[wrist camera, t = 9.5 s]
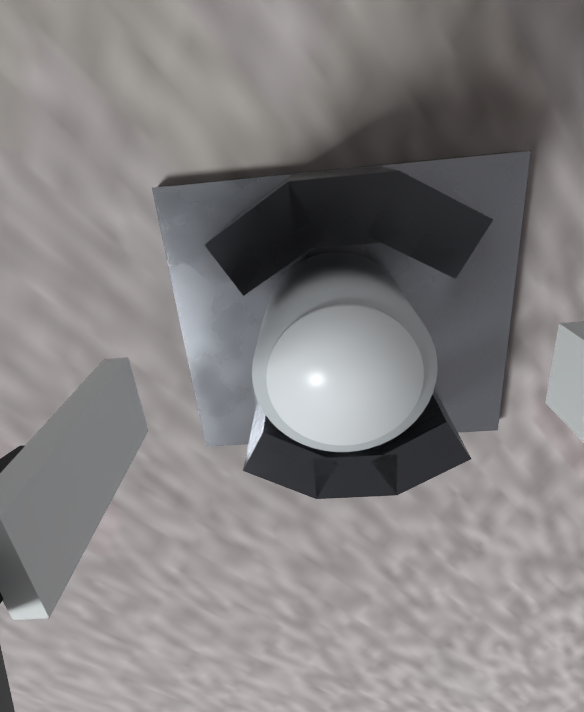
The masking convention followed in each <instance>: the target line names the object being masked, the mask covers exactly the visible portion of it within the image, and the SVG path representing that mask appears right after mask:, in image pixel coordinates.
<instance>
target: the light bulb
mask: <svg viewBox="0 0 584 712" xmlns="http://www.w3.org/2000/svg"><path fill="white" fill-rule="evenodd" d="M437 371H438V369H437V355H436V350H435V346H434V343H433V340H432V338H431V336H430V334H429V332H428V330H427V328H426V327H425V325H424V324H423V322H422V321H421V319H420V318H419V316H418V315H417V313H416V311H415V310H414V308H413V307H412V305H411V304H410V302H409V301H408V299H407V298H406V296H405V295H404V293H403V292H402V290H401V289H400V287H399V286H398V284H397V283H396V282H395V280H394V279H393V277H392V276H391V275H390V274H389V273H388V272H387V271H386V270H385V269H384V268H382V267H381V266H380V265H379V264H377V263H375V262H374V261H372V260H370V259H368V258H365V257H363V256H360V255H356V254H352V253H345V252H330V253H323V254H319V255H316V256H312V257H310V258H308V259H305V260H303V261H301V262H300V263H298V264H296V265H295V266H293V267H292V268H291V269H290V270H288V271H287V272H286V273H285V274H284V275H283V276H282V277H281V279H280V280H279V281H278V283H277V284H276V285H275V287H274V289H273V291H272V293H271V295H270V298H269V300H268V303H267V307H266V311H265V315H264V318H263V322H262V326H261V330H260V334H259V338H258V341H257V345H256V349H255V353H254V358H253V363H252V382H253V387H254V392H255V395H256V397H257V400H258V403H259V405H260V406H261V408H262V410H263V412H264V413H265V415H266V416H267V417H268V419H269V420H270V421H271V422H272V423H273V424H274V425H275V426H276V427H277V428H278V429H279V430H280V431H281V432H283V433H284V434H285V435H287V436H288V437H290V438H291V439H293V440H295V441H297V442H299V443H301V444H303V445H306V446H309V447H312V448H315V449H319V450H324V451H332V452H351V451H360V450H364V449H369V448H372V447H375V446H378V445H381V444H383V443H385V442H387V441H390V440H391V439H393V438H395V437H396V436H398V435H400V434H401V433H402V432H404V431H405V430H406V429H407V428H409V427H410V426H411V425H412V424H413V423H414V422H415V421H416V420H417V419H418V417H419V416H420V415H421V414H422V412H423V411H424V409H425V408H426V406H427V404H428V403H429V401H430V398H431V396H432V394H433V391H434V388H435V384H436V379H437Z"/></svg>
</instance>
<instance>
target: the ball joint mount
mask: <svg viewBox="0 0 584 712" xmlns="http://www.w3.org/2000/svg"><path fill="white" fill-rule="evenodd" d="M530 154H531V151H519V152H509V153H499V154H488V155H478V156H468V157H458V158H447V159H437V160H427V161H417V162H407V163H396V164H386V165H376V166H366V167H355V168H345V169H335V170H325V171H315V172H304V173H294V174H284V175H274V176H263V177H253V178H243V179H233V180H223V181H212V182H202V183H192V184H182V185H171V186H161V187H155V188H152V191H153V196H154V200H155V205H156V210H157V215H158V220H159V224H160V229H161V234H162V239H163V244H164V248H165V253H166V258H167V263H168V267H169V272H170V277H171V282H172V287H173V291H174V296H175V301H176V306H177V311H178V315H179V320H180V325H181V330H182V334H183V339H184V344H185V349H186V354H187V358H188V363H189V368H190V373H191V377H192V382H193V387H194V392H195V397H196V401H197V406H198V411H199V416H200V421H201V425H202V430H203V435H204V440H205V444H206V446H223V445H241V444H248V448H247V453H246V458H245V463H244V468H243V471H245V472H248V473H250V474H253V475H256V476H258V477H261V478H263V479H266V480H269V481H271V482H274V483H276V484H279V485H282V486H284V487H287V488H289V489H292V490H295V491H297V492H300V493H302V494H305V495H308V496H310V497H313V498H315V499H316V498H317V499H325V498H347V497H368V496H390V495H398V494H400V493H402V492H405V491H407V490H409V489H411V488H413V487H415V486H417V485H419V484H421V483H423V482H425V481H427V480H429V479H431V478H433V477H435V476H437V475H439V474H441V473H443V472H446V471H448V470H450V469H452V468H454V467H456V466H458V465H460V464H462V463H464V462H466V461H468V460H470V459H471V457H470V455H469V453H468V451H467V449H466V448H465V446H464V444H463V442H462V440H461V438H460V436H459V434H458V432H474V431H492V430H498V423H499V415H500V407H501V398H502V390H503V381H504V373H505V364H506V356H507V348H508V339H509V331H510V322H511V314H512V305H513V297H514V289H515V280H516V272H517V263H518V255H519V246H520V238H521V229H522V221H523V213H524V204H525V196H526V187H527V179H528V170H529V162H530ZM330 252H345V253H352V254H356V255H360V256H363V257H365V258H368V259H370V260H372V261H374V262H375V263H377V264H379V265H380V266H381V267H382V268H384V269H385V270H386V271H387V272H388V273H389V274H390V275H391V276H392V277H393V279H394V280H395V282H396V283H397V284H398V286H399V287H400V289H401V290H402V292H403V293H404V295H405V296H406V298H407V299H408V301H409V302H410V304H411V305H412V307H413V308H414V310H415V311H416V313H417V315H418V316H419V318H420V319H421V321H422V322H423V324H424V325H425V327H426V328H427V330H428V332H429V334H430V336H431V338H432V340H433V343H434V346H435V350H436V355H437V369H438V371H437V379H436V384H435V388H434V391H433V394H432V396H431V398H430V401H429V403H428V404H427V406H426V408H425V409H424V411H423V412H422V414H421V415H420V416H419V417H418V419H417V420H416V421H415V422H414V423H413V424H412V425H411V426H410V427H409V428H407V429H406V430H405V431H404V432H402V433H401V434H400V435H398V436H396V437H395V438H393V439H391V440H390V441H387V442H385V443H383V444H381V445H378V446H375V447H372V448H369V449H364V450H360V451H351V452H332V451H324V450H319V449H315V448H312V447H309V446H306V445H303V444H301V443H299V442H297V441H295V440H293V439H291V438H290V437H288V436H287V435H285V434H284V433H283V432H281V431H280V430H279V429H278V428H277V427H276V426H275V425H274V424H273V423H272V422H271V421H270V420H269V419H268V417H267V416H266V415H265V413H264V412H263V410H262V408H261V406H260V405H259V403H258V400H257V397H256V395H255V392H254V387H253V382H252V363H253V358H254V353H255V349H256V345H257V341H258V338H259V334H260V330H261V326H262V322H263V318H264V315H265V311H266V307H267V303H268V300H269V298H270V295H271V293H272V291H273V289H274V287H275V285H276V284H277V283H278V281H279V280H280V279H281V277H282V276H283V275H284V274H285V273H286V272H287V271H288V270H290V269H291V268H292V267H293V266H295V265H296V264H298V263H300V262H301V261H303V260H305V259H308V258H310V257H312V256H316V255H319V254H323V253H330Z"/></svg>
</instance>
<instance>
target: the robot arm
mask: <svg viewBox="0 0 584 712" xmlns="http://www.w3.org/2000/svg"><path fill="white" fill-rule="evenodd" d="M545 403H546V404H547V405H548V406H549V407H550V408H551V409H552V410H553V411H554V412H555V413H556V414H557V415H558V416H559V418H560V419H561V420H562V421H563V422H564V423H565V424H566V425H567V426H568V427H569V428H570V429H571V430H572V431H573V432H574V433H575V434H576V435H577V436H578V437H579V438H580V439H581V440H582V442H583V443H584V321H582V322H570V323H559V327H558V333H557V338H556V344H555V350H554V356H553V362H552V367H551V373H550V379H549V385H548V391H547V396H546V402H545ZM147 432H148V428H147V425H146V421H145V417H144V414H143V410H142V406H141V403H140V399H139V395H138V392H137V388H136V384H135V381H134V377H133V374H132V370H131V366H130V363H129V359H128V357H127V358H114V359H104V360H103V361H102V362H101V363H100V364H99V366H98V367H97V368H96V369H95V370H94V371H93V372H92V373H91V374H90V375H89V376H88V378H87V379H86V380H85V381H84V382H83V383H82V384H81V385H80V386H79V387H78V389H77V390H76V391H75V392H74V393H73V394H72V395H71V396H70V397H69V398H68V400H67V401H66V402H65V403H64V404H63V405H62V406H61V407H60V408H59V409H58V410H57V412H56V413H55V414H54V415H53V416H52V417H51V418H50V419H49V420H48V421H47V423H46V424H45V425H44V426H43V427H42V428H41V429H40V430H39V431H38V432H37V434H36V435H35V436H34V437H33V438H32V439H31V440H30V441H29V442H28V443H27V444H26V446H19V447H17V448H16V449H14V450H13V451H11V452H10V453H8V454H7V455H5V456H4V457H2V458H1V459H0V603H1V602H2V601H3V602H4V604H5V606H6V608H7V610H8V612H9V613H10V615H11V617H12V619H13V620H19V619H39V618H49V617H50V615H51V613H52V612H53V610H54V608H55V606H56V604H57V602H58V600H59V598H60V596H61V595H62V593H63V591H64V589H65V587H66V585H67V583H68V581H69V579H70V578H71V576H72V574H73V572H74V570H75V568H76V566H77V564H78V562H79V561H80V559H81V557H82V555H83V553H84V551H85V549H86V547H87V545H88V544H89V542H90V540H91V538H92V536H93V534H94V532H95V530H96V528H97V526H98V525H99V523H100V521H101V519H102V517H103V515H104V513H105V511H106V509H107V508H108V506H109V504H110V502H111V500H112V498H113V496H114V494H115V492H116V491H117V489H118V487H119V485H120V483H121V481H122V479H123V477H124V475H125V474H126V472H127V470H128V468H129V466H130V464H131V462H132V460H133V458H134V457H135V455H136V453H137V451H138V449H139V447H140V445H141V443H142V441H143V440H144V438H145V436H146V434H147ZM0 712H15V711H14V706H13V702H12V697H11V692H10V688H9V683H8V679H7V674H6V669H5V665H4V660H3V655H2V651H1V646H0Z"/></svg>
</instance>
